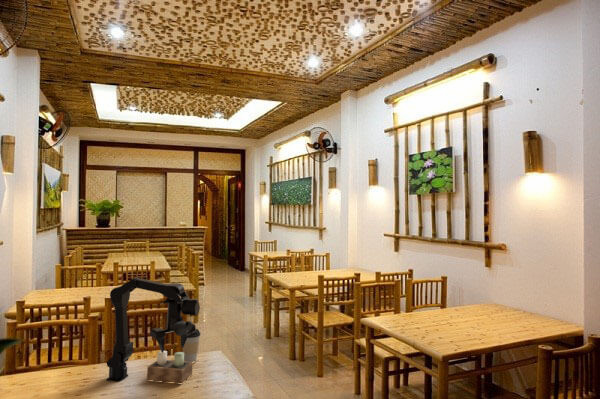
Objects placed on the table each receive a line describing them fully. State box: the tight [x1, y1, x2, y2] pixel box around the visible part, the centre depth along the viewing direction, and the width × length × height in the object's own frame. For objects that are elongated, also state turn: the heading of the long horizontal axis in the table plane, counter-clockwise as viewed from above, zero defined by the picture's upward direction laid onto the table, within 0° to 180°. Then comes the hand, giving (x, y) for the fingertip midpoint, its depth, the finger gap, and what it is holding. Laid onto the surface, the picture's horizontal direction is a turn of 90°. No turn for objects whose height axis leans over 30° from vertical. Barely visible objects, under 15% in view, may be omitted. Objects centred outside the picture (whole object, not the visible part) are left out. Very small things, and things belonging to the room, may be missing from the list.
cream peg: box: [156, 350, 168, 366], centre depth 180 cm, size 4×4×6 cm
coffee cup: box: [182, 328, 202, 362], centre depth 199 cm, size 9×9×15 cm
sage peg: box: [173, 351, 184, 367], centre depth 179 cm, size 4×4×6 cm
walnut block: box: [146, 359, 193, 384], centre depth 180 cm, size 16×10×6 cm, turn 80°
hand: (172, 350), depth 176 cm, fingers open, 9 cm apart
